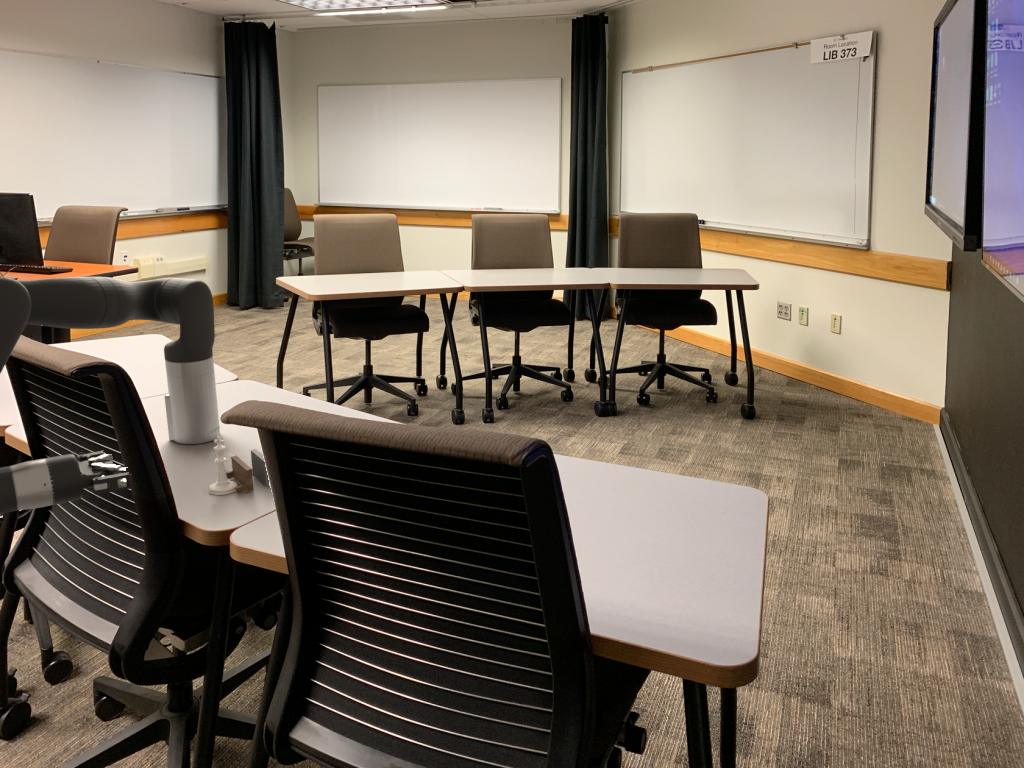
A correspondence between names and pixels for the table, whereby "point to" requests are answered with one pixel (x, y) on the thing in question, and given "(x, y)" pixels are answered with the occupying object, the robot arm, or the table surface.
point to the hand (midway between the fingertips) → (152, 462)
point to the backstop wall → (259, 467)
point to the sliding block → (241, 475)
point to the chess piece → (221, 473)
